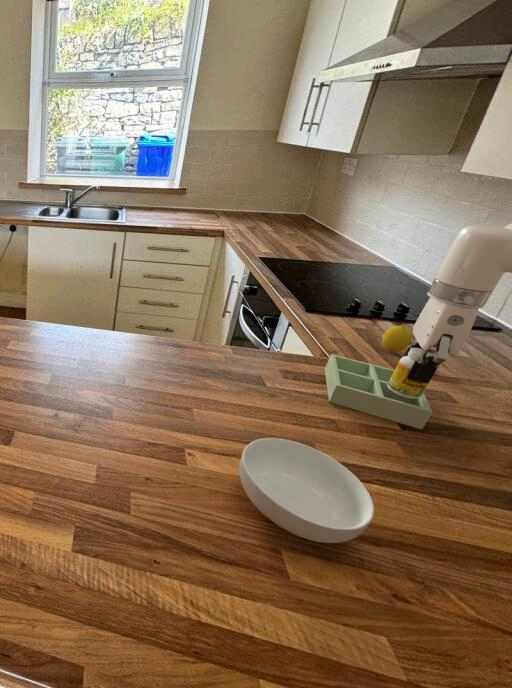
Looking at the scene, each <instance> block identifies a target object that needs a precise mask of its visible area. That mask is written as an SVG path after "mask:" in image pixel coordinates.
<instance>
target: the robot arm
mask: <svg viewBox="0 0 512 688" xmlns="http://www.w3.org/2000/svg"><path fill="white" fill-rule="evenodd" d="M505 273H510V274H512V222H511V223H509V224H507V225H506V226H503V227H500V226H496V225H485V224H471V225H467V226H464V227H463V228H462V229H460V231H459V232H458V234H457V236H456V237H455V239H454V242H453V243H452V245H451V247H450V249H449V251H448V252H447V254H446V256H445V258H444V260H443V262H442V264H441V266H440V268H439V270H438V271H437V274H436V275H435V278H434V279H433V281H432V283H431V285H430V287H429V289H428V291H427V293H426V295H427V296H428V297H429V298H428V300H427V302H426V303H425V305H424V307H423V308H422V310H421V312H420V313H419V315H418V317H417V319H416V321H415V322H414V325H413V328H412V335H413V337H412V341H411V342H410V345H409V346H408V347H407V348H406V349H405V352H404V354H403V356H402V357H404V356H408V353H409V351H410V349H411V348H420V349H422V352H421V354H420V357H419V359H418V361H415V362H414V364H413V366H412V367H411V369H410V371H409V373H408V375H407V378H408V379H410V380H414V381H418V382H422V383H428V384H429V383H430V381H432V380H431V379H432V378H433V376H434V375H435V373H436V372H437V370H438V369H439V368H440V367H441V364H442V363H444V362H446V361H447V359H448V355H449V356H450V357H452V358H453V357H457V356H458V355H459V354H460V352H461V350H462V348H463V346H464V345H465V343H466V340H467V339H468V336H469V335H470V333H471V331H472V329H473V326H474V324H475V321H476V319H477V316H478V313H479V309H483V308H484V307H485V306H486V304H487V302H488V300H489V299H490V297H491V296H492V294H493V292H494V290H495V289H496V287H497V285H498V283H500V280H501V279H502V277H503V276H504V274H505ZM431 348H435V349H431ZM428 352H429V353H434V355H433V356H428V357H426V356H427V353H428Z"/></svg>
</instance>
